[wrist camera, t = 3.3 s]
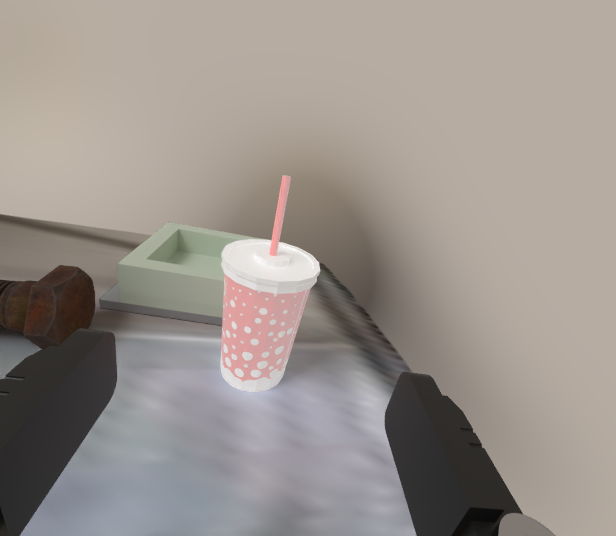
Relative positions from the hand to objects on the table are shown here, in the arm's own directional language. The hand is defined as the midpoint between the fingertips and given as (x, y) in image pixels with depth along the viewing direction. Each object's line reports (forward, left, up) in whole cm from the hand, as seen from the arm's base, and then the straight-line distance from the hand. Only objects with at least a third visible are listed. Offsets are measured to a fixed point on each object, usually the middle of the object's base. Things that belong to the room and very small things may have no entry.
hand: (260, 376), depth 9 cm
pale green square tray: (-6, +23, -10) cm, 26 cm away
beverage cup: (0, +11, -10) cm, 15 cm away
